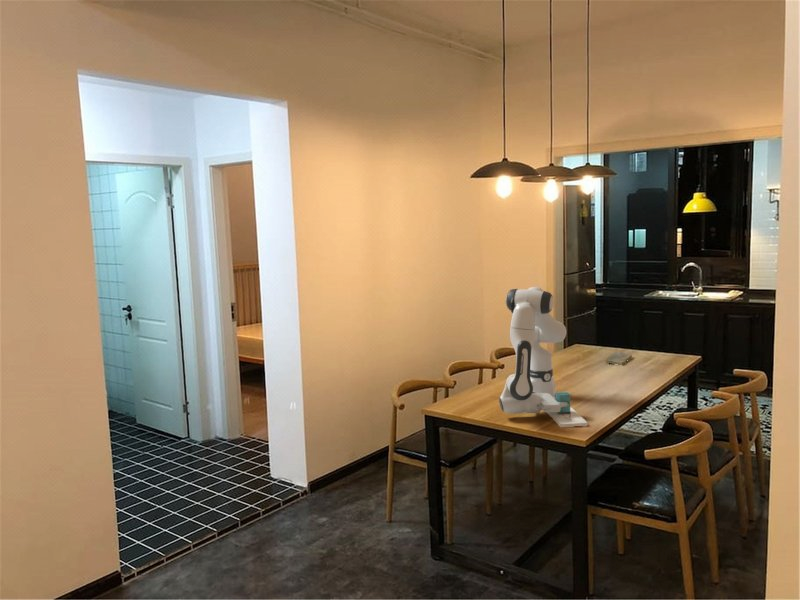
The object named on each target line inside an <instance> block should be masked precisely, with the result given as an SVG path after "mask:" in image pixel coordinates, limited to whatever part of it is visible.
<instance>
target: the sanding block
mask: <svg viewBox="0 0 800 600" xmlns="http://www.w3.org/2000/svg"><path fill="white" fill-rule="evenodd" d="M555 397H556V401H557V402H560V403H561V402H567V406H564V407H561V409H560V412H557V413H558V414H571V412H570V408H571V394H570V393H569V392H568V391H556V395H555Z"/></svg>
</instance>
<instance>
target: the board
mask: <svg viewBox="0 0 800 600" xmlns="http://www.w3.org/2000/svg"><path fill="white" fill-rule="evenodd" d="M570 412H571V414H558V413H557V412H546V413H547V414H548V415H549V417H552V418H553V419H552V418H551V419H552V420H553V421H554V422H555V423H556V424H557V425H558V427H559V426H560V428H575V427H574V426H583V427H588V426H589V424H588V421H586V419H585V418H584V417H582V416H581V415H580V414H579V413H578V412H577V411H576V410H575V409H574V408H573V407H570ZM587 425H588V426H587Z"/></svg>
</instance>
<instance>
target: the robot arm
mask: <svg viewBox="0 0 800 600" xmlns="http://www.w3.org/2000/svg"><path fill="white" fill-rule="evenodd" d="M505 297H506V298H505V304H506V308H507V309H508V310H509V311H510V312H511V314H512V316H511V320H510V327H509V340H510V343H511V345H512V347H513V349H514V352H515V357H516V358H515V360H516V361H515V373H511V374H509V375H508V377H507V378H506V379H505V380H506V381H505V384H504V389H503V391H502V393H501V395H500V396H499V397H498V398H499V399H498V401H499V407H500V409H501V410H502V412H503V413H504V414H509V415H510V414H513V415H515V414H517V415H518V414H523V413H525V414H539V413H541V411H543V412H544V413H547V412H560V409H561V407H564V406H567V402H561V403H560V402H557V401H556V392H557V391H556V384H555V379H554V377H553V376H554V374H553V373H554V372H553V371H554V370H553V366H552V363H553V361H552V354H551V352H550V351H548V349H545V348H543V347H541V344H540V343H543V344H544V343H545V344H547V343H549V344H553V343H554V344H555V343H561V342H563V341H564V340H565V338H566V336H567V327H566V326H565V324H564V323H563V322H561V321H559V320H557V319H555V318H554V317H553V315H551V311H552V309H553V307H554V303H555V301H554V295H553V294H552V293H551V292H549V291H545V290H543V289H542V288H541V287H539V286H530V287H528V289H527V288H526V289H524V288H522V289H520V288H519V289H518V288H512V289H510V290H508V292H507V293H506V296H505Z"/></svg>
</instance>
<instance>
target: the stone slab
mask: <svg viewBox="0 0 800 600" xmlns="http://www.w3.org/2000/svg"><path fill="white" fill-rule="evenodd" d="M632 356H633V355H632V354H629V353H626V352H621V351H615V352H613V353H611V354H610V355H608V356H607V358H606V359H605V363H606V364H607V363H612V364H611V365H614V364H618V365H617V366H620V365H622V366H624V365H625V364H626V363H627V362H628V361H627V360H629V359H630V358H631V357H632ZM631 359H632V358H631ZM631 359H630V360H631ZM630 360H629V361H630ZM626 361H627V362H626ZM625 362H626V363H625ZM624 363H625V364H624Z"/></svg>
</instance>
